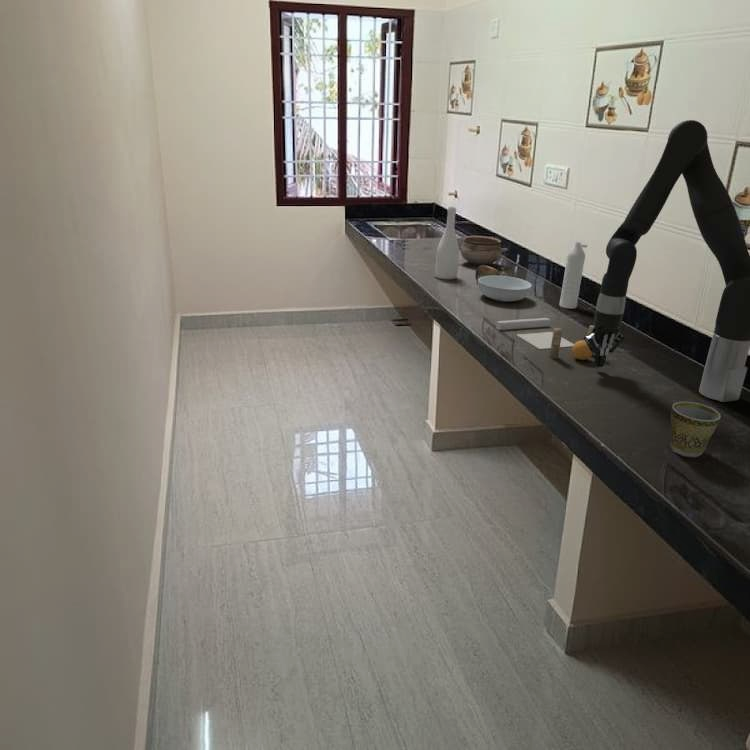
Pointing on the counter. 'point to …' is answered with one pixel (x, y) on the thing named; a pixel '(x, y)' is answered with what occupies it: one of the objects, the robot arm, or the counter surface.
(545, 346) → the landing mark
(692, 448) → the ceramic cup
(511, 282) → the serving bowl
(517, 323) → the wall
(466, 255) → the cooking pot
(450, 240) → the wine bottle
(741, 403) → the counter surface
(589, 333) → the post right
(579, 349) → the ball
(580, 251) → the white pump bottle
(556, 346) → the post left
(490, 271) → the tin
